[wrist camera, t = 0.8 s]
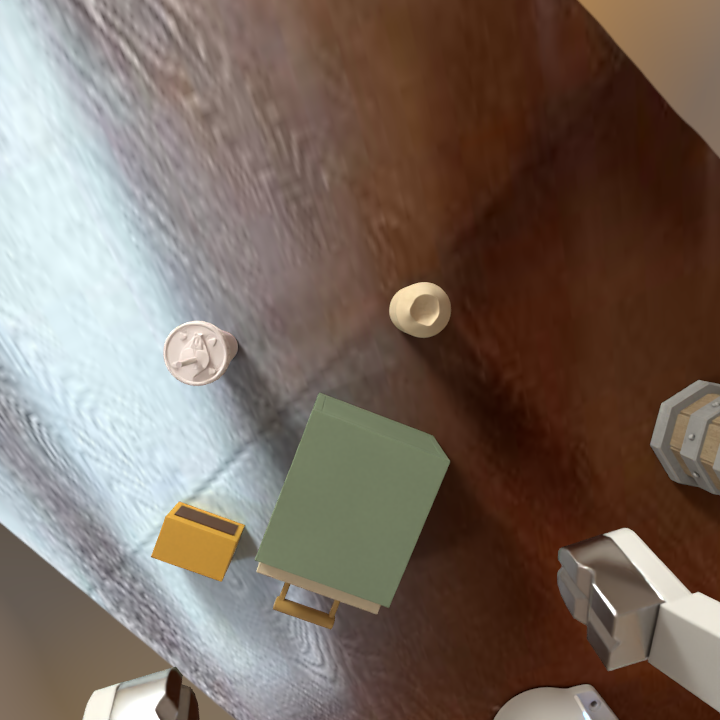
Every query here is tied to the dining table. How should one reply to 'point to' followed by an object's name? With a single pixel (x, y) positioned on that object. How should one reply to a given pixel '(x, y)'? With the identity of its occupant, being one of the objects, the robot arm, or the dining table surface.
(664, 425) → the tankard
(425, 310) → the candle
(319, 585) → the drawer
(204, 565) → the matchbox
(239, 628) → the dining table surface
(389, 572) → the cabinet
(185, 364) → the smoothie
